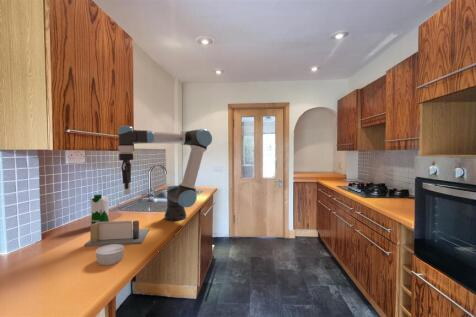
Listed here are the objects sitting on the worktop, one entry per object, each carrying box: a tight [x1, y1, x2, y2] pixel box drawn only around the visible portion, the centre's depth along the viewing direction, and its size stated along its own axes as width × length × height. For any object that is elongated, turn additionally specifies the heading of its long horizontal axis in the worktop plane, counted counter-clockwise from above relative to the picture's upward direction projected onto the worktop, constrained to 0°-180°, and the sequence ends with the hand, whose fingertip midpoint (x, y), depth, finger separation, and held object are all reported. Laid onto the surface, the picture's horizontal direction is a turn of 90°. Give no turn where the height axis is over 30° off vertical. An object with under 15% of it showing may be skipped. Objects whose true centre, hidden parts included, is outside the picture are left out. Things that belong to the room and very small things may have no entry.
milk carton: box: [89, 194, 110, 225], centre depth 154 cm, size 9×9×20 cm
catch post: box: [89, 223, 99, 243], centre depth 124 cm, size 3×2×10 cm
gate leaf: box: [95, 220, 133, 240], centre depth 128 cm, size 18×2×9 cm, turn 100°
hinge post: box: [132, 220, 140, 239], centre depth 130 cm, size 3×3×10 cm
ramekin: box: [94, 244, 125, 266], centre depth 106 cm, size 11×11×5 cm
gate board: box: [83, 228, 150, 247], centre depth 133 cm, size 27×21×1 cm
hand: (127, 194), depth 141 cm, fingers closed
